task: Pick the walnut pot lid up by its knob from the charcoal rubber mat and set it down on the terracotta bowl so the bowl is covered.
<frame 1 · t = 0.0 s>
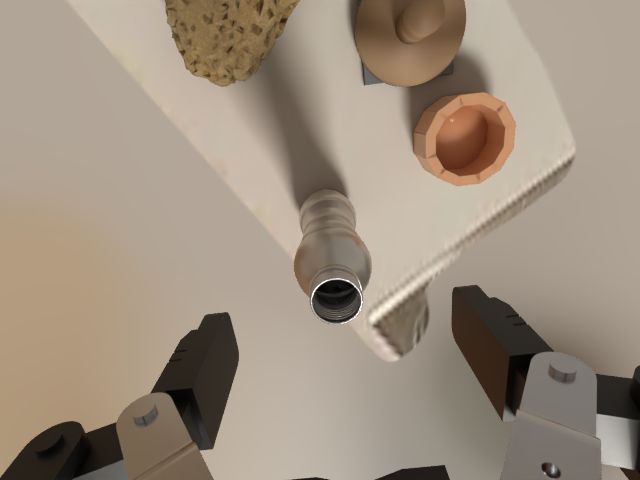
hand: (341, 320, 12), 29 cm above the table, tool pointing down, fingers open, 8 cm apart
plastic bottle: (326, 212, 42), on the table
bowl: (453, 137, 38), on the table
lid: (407, 29, 34), point 1 cm above the table, touching mat
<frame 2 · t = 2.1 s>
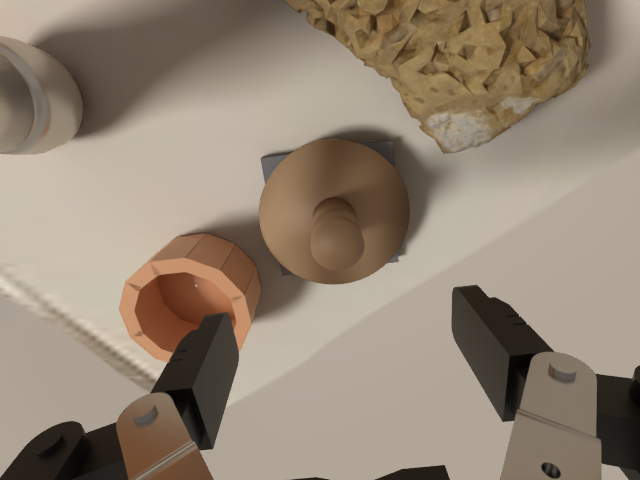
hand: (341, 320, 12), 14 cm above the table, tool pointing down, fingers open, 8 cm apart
plastic bottle: (48, 99, 23), on the table
bowl: (205, 284, 28), on the table
lid: (333, 213, 25), point 1 cm above the table, touching mat
mat: (333, 209, 26), on the table
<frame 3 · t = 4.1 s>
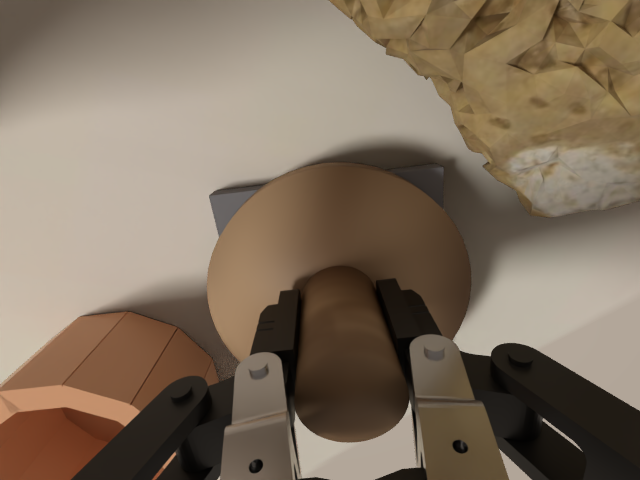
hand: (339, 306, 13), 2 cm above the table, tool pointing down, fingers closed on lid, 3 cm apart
bowl: (134, 385, 18), on the table
lid: (337, 284, 15), point 1 cm above the table, touching gripper, mat
mat: (335, 276, 15), on the table
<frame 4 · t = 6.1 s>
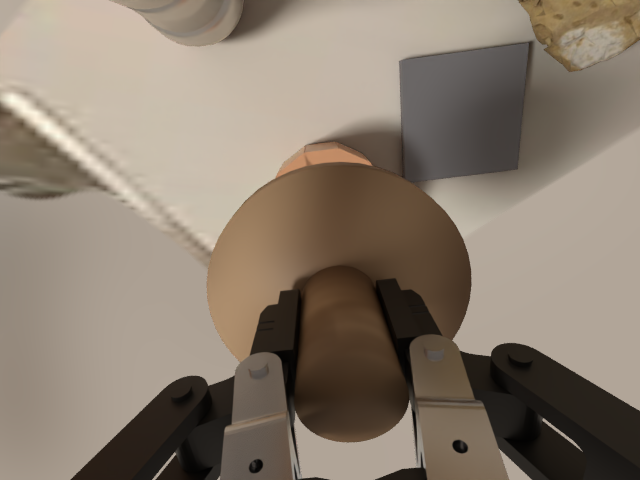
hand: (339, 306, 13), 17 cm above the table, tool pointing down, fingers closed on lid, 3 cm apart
plastic bottle: (202, 0, 24), on the table
bowl: (326, 196, 29), on the table
lid: (337, 284, 15), point 15 cm above the table, touching gripper
mat: (458, 117, 27), on the table
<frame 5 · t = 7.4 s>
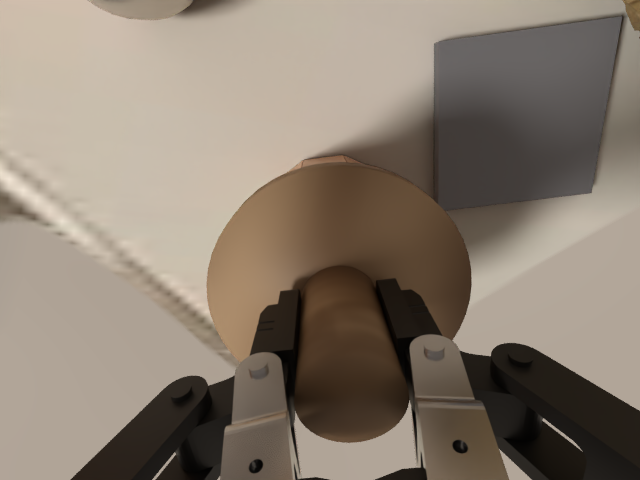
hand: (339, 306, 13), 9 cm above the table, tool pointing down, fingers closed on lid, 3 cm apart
bowl: (331, 227, 22), on the table
lid: (337, 284, 15), point 8 cm above the table, touching gripper
mat: (513, 122, 19), on the table
when the fingers open (7 cm above the table, at t = 8.1 s): lid stays where it is, resting on bowl.
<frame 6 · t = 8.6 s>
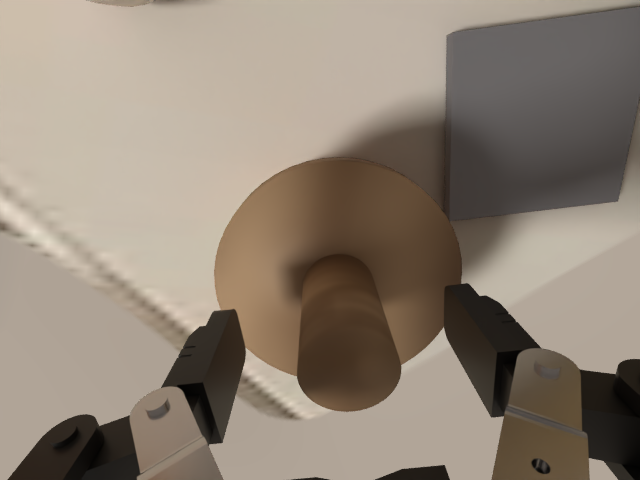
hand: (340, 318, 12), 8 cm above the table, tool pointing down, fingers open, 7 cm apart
lid: (336, 273, 16), point 4 cm above the table, touching bowl
mat: (533, 123, 18), on the table
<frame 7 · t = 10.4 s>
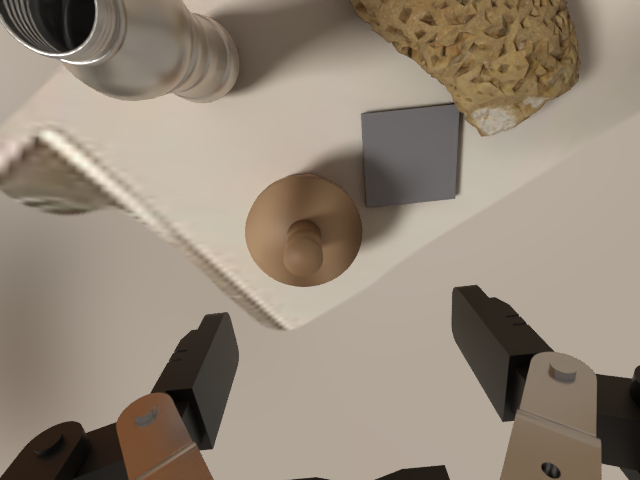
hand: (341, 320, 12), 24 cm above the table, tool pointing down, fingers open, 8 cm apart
plastic bottle: (206, 64, 31), on the table
lid: (304, 230, 32), point 4 cm above the table, touching bowl
mat: (408, 157, 34), on the table
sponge: (445, 24, 30), on the table, touching mat
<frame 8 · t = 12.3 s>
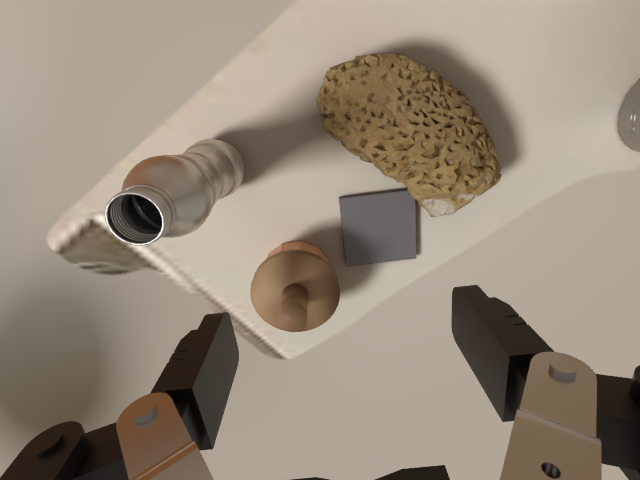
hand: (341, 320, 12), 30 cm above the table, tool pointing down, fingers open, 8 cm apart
plastic bottle: (219, 165, 40), on the table
bowl: (297, 272, 45), on the table
lid: (295, 289, 41), point 4 cm above the table, touching bowl
mat: (378, 227, 43), on the table
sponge: (401, 131, 39), on the table
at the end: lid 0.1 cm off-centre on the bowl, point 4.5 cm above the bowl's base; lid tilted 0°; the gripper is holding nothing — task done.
